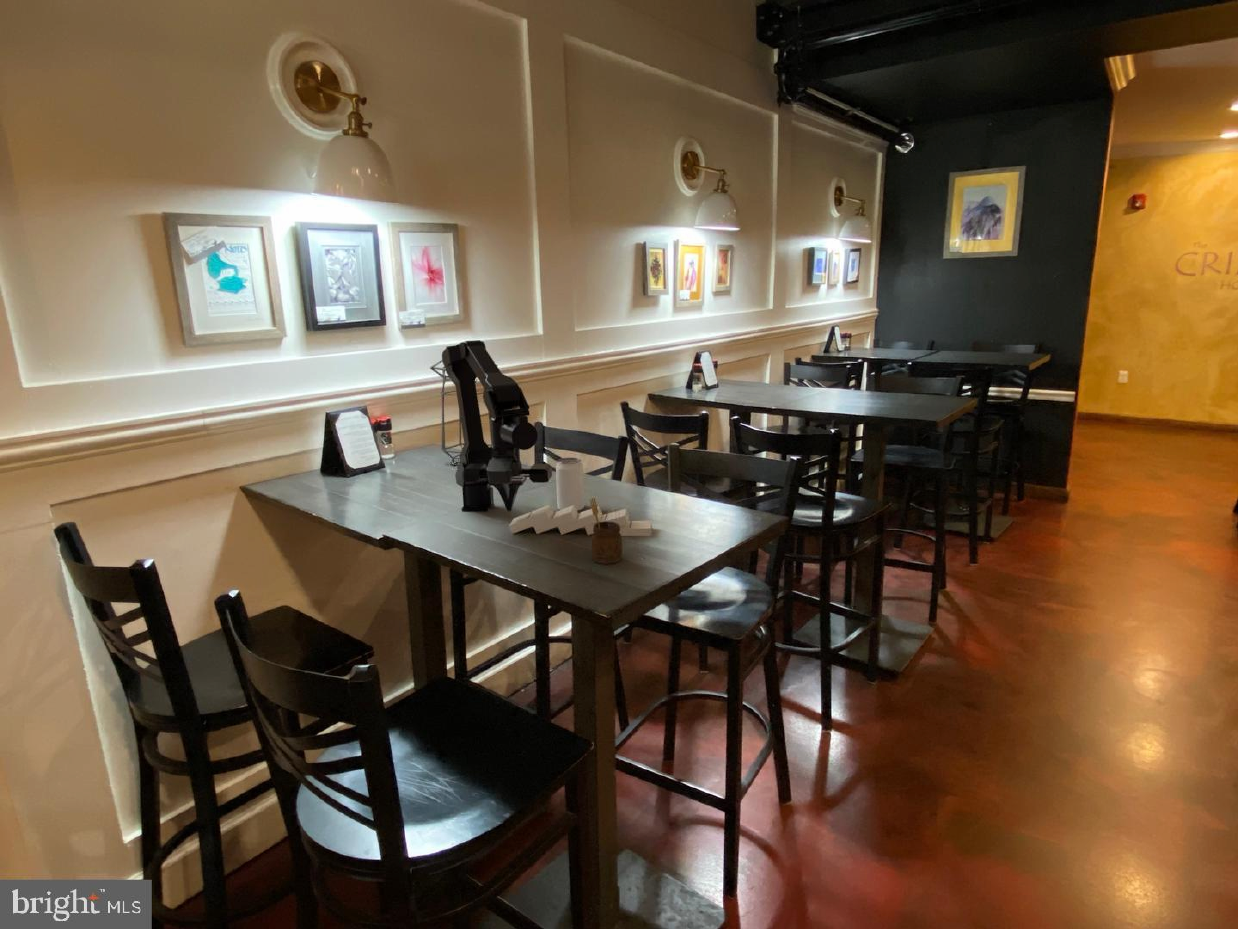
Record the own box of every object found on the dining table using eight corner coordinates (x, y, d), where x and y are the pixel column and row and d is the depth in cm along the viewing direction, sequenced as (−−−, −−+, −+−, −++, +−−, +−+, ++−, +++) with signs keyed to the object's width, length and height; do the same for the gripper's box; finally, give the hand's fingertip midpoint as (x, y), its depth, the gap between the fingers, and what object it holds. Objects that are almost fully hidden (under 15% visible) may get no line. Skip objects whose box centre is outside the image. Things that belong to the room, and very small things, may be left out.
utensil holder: (612, 567, 136) (610, 507, 133) (584, 560, 139) (583, 502, 136) (628, 557, 141) (627, 499, 138) (601, 551, 144) (600, 494, 141)
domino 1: (508, 525, 155) (545, 511, 153) (513, 518, 160) (549, 504, 158) (512, 534, 155) (549, 519, 154) (517, 526, 160) (553, 512, 158)
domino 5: (609, 529, 153) (650, 528, 152) (611, 521, 158) (651, 520, 157) (609, 538, 153) (651, 537, 153) (611, 530, 158) (652, 529, 157)
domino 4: (584, 526, 153) (624, 515, 152) (587, 518, 158) (626, 508, 156) (587, 535, 154) (627, 524, 152) (590, 527, 158) (629, 516, 157)
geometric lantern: (433, 467, 214) (424, 349, 206) (464, 456, 228) (456, 346, 220) (477, 470, 208) (469, 349, 200) (506, 459, 222) (499, 346, 215)
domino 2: (532, 525, 154) (570, 511, 153) (537, 518, 159) (574, 504, 158) (536, 534, 155) (574, 520, 153) (541, 526, 160) (577, 513, 158)
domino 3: (557, 526, 154) (595, 513, 152) (561, 518, 159) (598, 505, 157) (561, 534, 154) (599, 521, 153) (565, 527, 159) (602, 514, 157)
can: (580, 513, 168) (579, 464, 165) (554, 511, 170) (552, 463, 167) (587, 505, 175) (585, 457, 172) (561, 503, 176) (559, 456, 173)
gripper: (451, 449, 146) (457, 522, 150) (541, 450, 144) (544, 523, 148) (467, 438, 156) (472, 505, 160) (551, 438, 155) (553, 506, 159)
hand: (509, 510), depth 157 cm, fingers closed
